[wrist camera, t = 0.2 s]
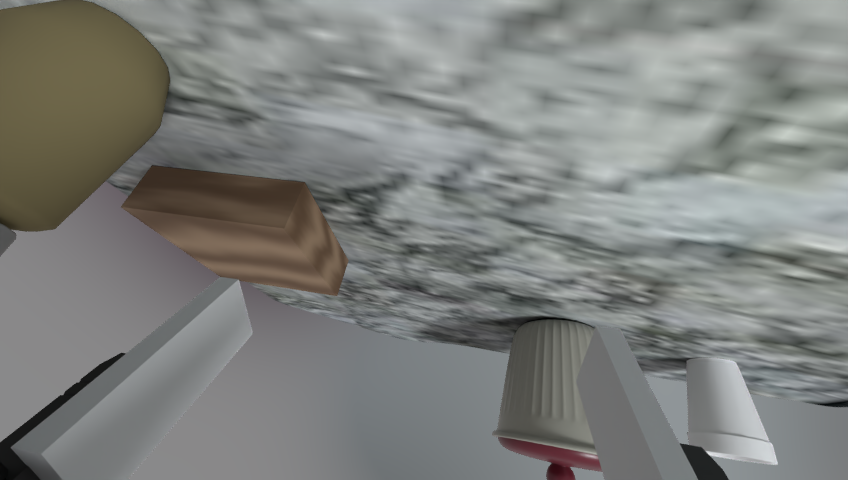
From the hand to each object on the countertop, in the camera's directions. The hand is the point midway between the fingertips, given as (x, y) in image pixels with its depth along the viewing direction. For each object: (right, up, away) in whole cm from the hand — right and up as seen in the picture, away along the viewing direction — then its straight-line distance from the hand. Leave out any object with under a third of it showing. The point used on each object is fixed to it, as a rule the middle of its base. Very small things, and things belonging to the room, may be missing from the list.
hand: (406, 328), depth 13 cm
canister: (+22, -11, +41) cm, 48 cm away
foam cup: (+47, -16, +42) cm, 65 cm away
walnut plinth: (-18, +6, +26) cm, 32 cm away
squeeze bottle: (-19, +16, +9) cm, 26 cm away
